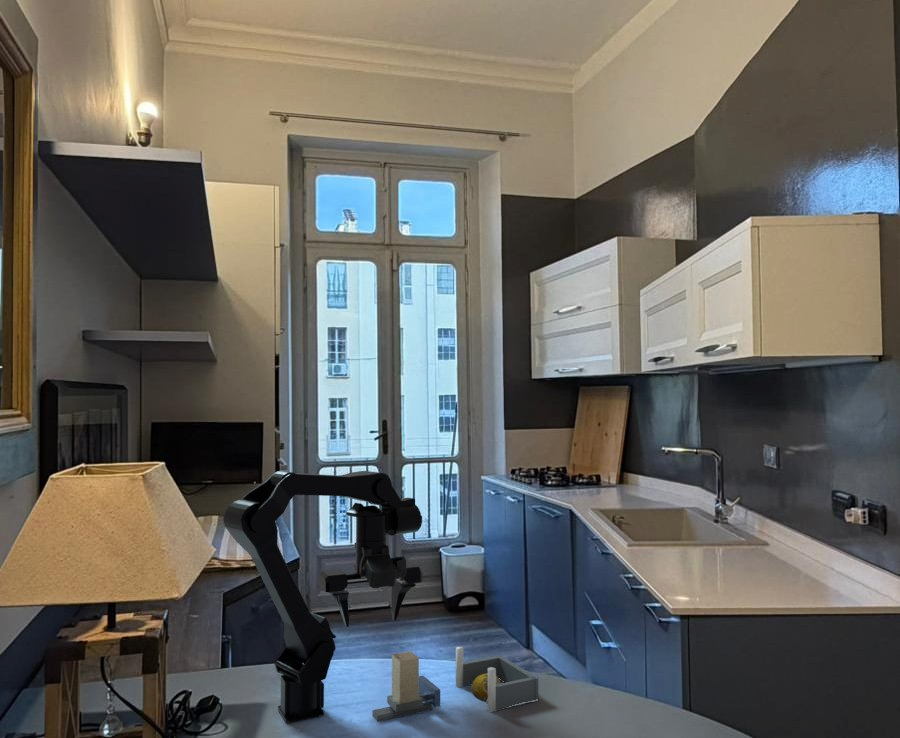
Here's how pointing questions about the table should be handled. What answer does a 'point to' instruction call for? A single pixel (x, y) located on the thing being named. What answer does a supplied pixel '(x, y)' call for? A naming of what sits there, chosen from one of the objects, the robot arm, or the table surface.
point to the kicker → (410, 684)
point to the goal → (516, 679)
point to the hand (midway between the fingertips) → (370, 623)
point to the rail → (391, 713)
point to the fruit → (482, 686)
